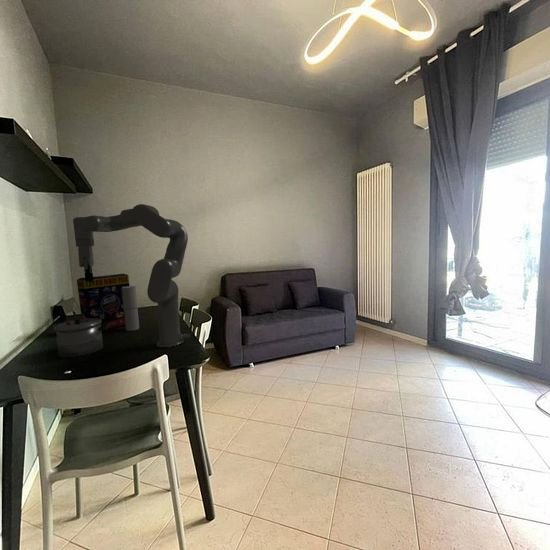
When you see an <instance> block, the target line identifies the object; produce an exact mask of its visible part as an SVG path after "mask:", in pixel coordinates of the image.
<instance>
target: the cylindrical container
mask: <svg viewBox="0 0 550 550" xmlns="http://www.w3.org/2000/svg"><path fill="white" fill-rule="evenodd" d="M122 294H123V305H124V315H125V325H124V326H125V331H127V332H130V331H131V332H132V331H137V330H139V329H140V321H139V311H138V300H137V290H136V286H135V285H130V286H127V287H122Z"/></svg>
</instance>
